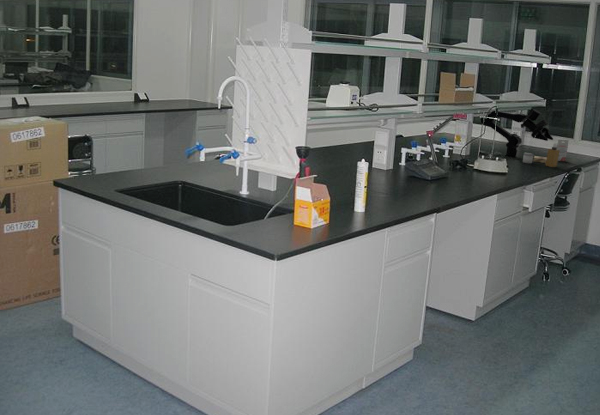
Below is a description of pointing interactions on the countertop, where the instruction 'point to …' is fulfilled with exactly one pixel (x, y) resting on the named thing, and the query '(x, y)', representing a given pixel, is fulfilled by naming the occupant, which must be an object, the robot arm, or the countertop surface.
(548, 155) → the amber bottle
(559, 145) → the ink cartridge box
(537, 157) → the beech block
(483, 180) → the countertop surface
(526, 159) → the white jar
